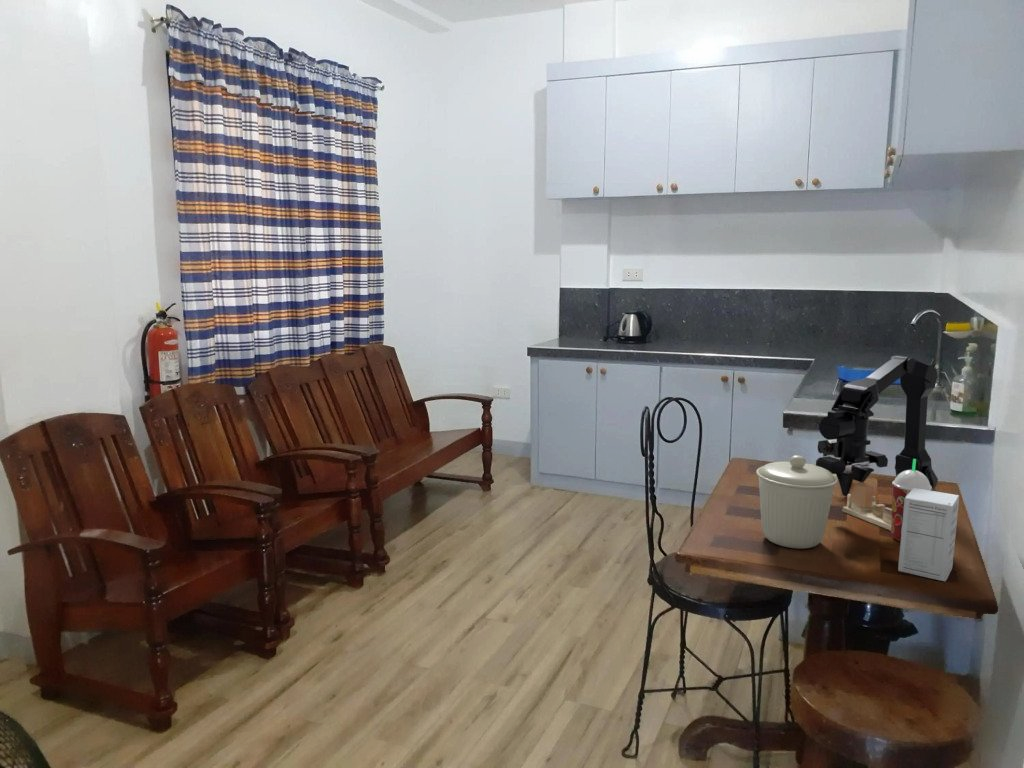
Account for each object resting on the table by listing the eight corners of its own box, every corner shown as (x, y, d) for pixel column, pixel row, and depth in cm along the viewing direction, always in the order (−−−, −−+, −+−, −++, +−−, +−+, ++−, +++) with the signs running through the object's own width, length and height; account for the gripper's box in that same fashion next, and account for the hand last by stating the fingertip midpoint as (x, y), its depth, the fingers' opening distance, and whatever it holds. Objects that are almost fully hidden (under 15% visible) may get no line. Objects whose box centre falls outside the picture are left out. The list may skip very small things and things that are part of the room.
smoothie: (925, 548, 176) (934, 466, 173) (885, 541, 180) (894, 460, 177) (926, 537, 184) (934, 457, 180) (888, 530, 188) (895, 452, 184)
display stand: (864, 507, 204) (865, 491, 204) (916, 527, 190) (918, 509, 189) (842, 511, 201) (843, 494, 200) (893, 531, 187) (895, 514, 186)
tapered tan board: (833, 491, 196) (835, 473, 195) (871, 505, 185) (873, 486, 184) (826, 492, 195) (828, 474, 194) (864, 507, 184) (866, 487, 183)
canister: (833, 534, 185) (840, 451, 181) (831, 561, 169) (839, 470, 165) (756, 522, 192) (761, 442, 188) (747, 547, 176) (753, 460, 172)
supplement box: (953, 568, 165) (961, 495, 162) (946, 582, 158) (955, 506, 155) (905, 557, 171) (912, 486, 168) (896, 570, 164) (903, 496, 161)
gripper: (855, 424, 198) (850, 481, 201) (801, 430, 191) (796, 490, 193) (892, 434, 188) (886, 494, 191) (836, 441, 181) (830, 503, 183)
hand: (848, 495), depth 190 cm, fingers closed on tapered tan board, 2 cm apart
